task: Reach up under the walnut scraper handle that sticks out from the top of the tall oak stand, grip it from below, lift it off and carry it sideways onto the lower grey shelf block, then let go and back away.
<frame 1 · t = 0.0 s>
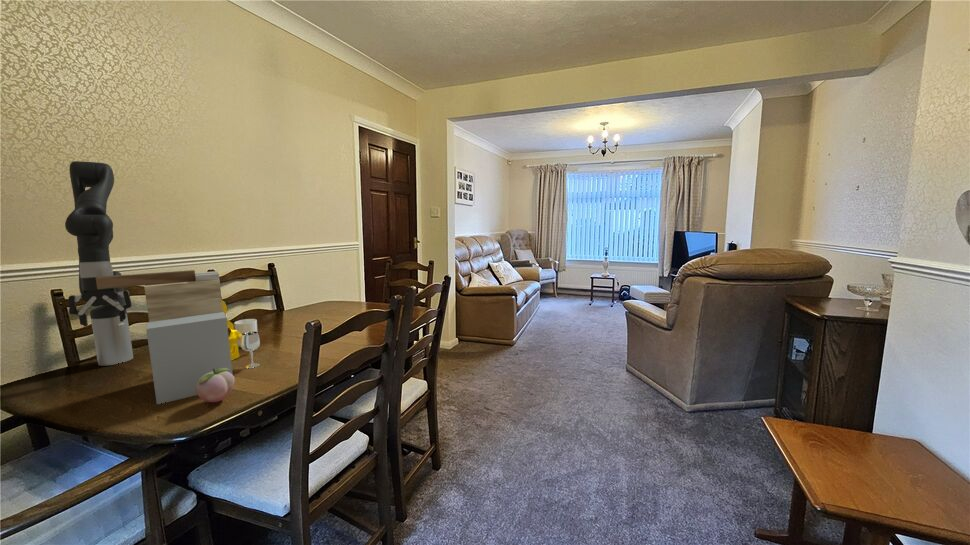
hand: (104, 323, 123), 17 cm above the table, tool pointing down, fingers open, 8 cm apart
wineglass: (252, 366, 130), on the table
white cup: (248, 345, 153), on the table
decorative fruit: (216, 402, 104), on the table
oak stand: (195, 376, 122), on the table
scraper: (98, 288, 105), point 32 cm above the table, touching oak stand
grey shelf: (196, 389, 112), on the table
figure statuette: (228, 359, 137), on the table
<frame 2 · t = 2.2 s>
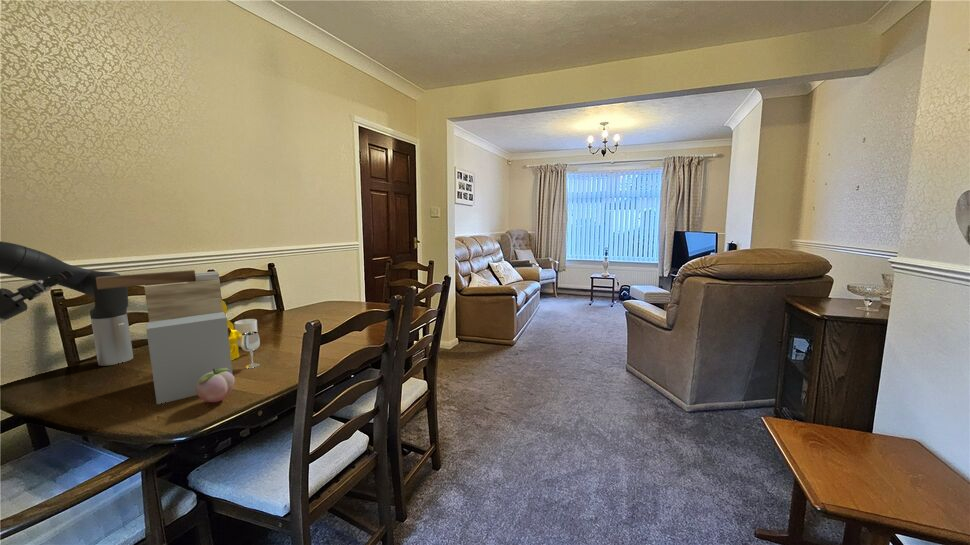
hand: (67, 274, 105), 36 cm above the table, tool pointing upward, fingers open, 8 cm apart
nothing on the table moved.
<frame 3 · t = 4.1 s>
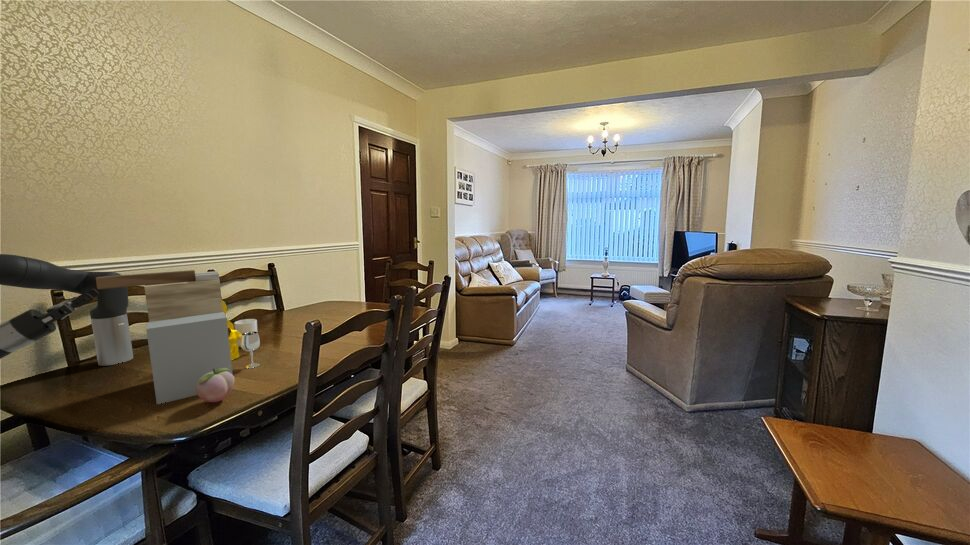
hand: (93, 293, 105), 31 cm above the table, tool pointing upward, fingers open, 8 cm apart
nothing on the table moved.
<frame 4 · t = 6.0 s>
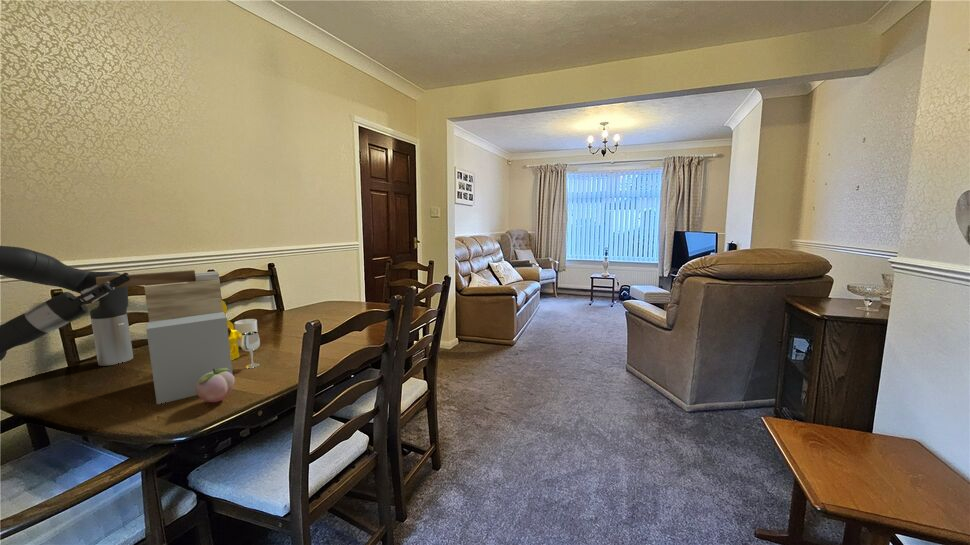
hand: (128, 275, 109), 35 cm above the table, tool pointing upward, fingers closed on scraper, 3 cm apart
scraper: (98, 288, 105), point 32 cm above the table, touching gripper
everything else where it was.
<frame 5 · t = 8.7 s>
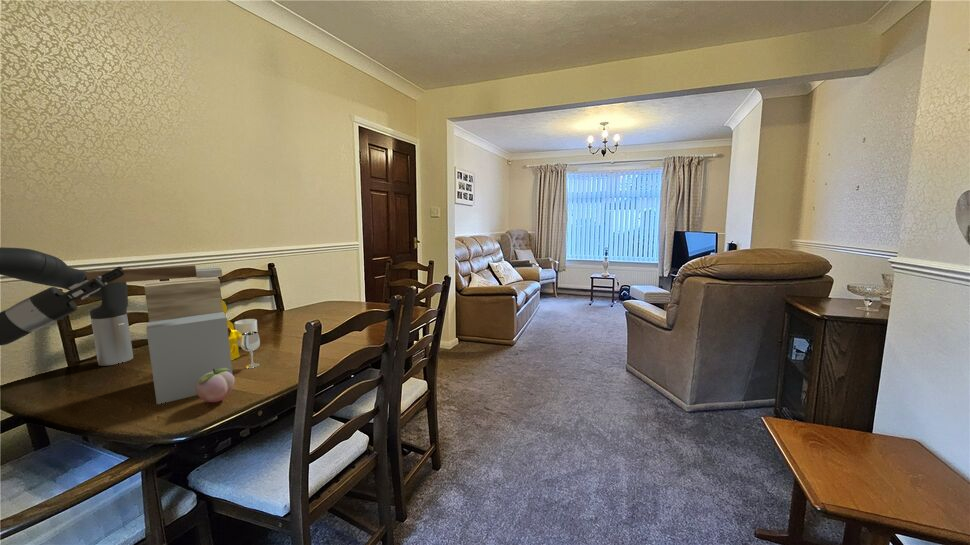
hand: (122, 270, 99), 38 cm above the table, tool pointing upward, fingers closed on scraper, 3 cm apart
scraper: (88, 283, 95), point 35 cm above the table, touching gripper
everything else where it was.
when the fingers open (26 cm above the table, at t = 11.0 s): scraper drops 1 cm, resting on grey shelf.
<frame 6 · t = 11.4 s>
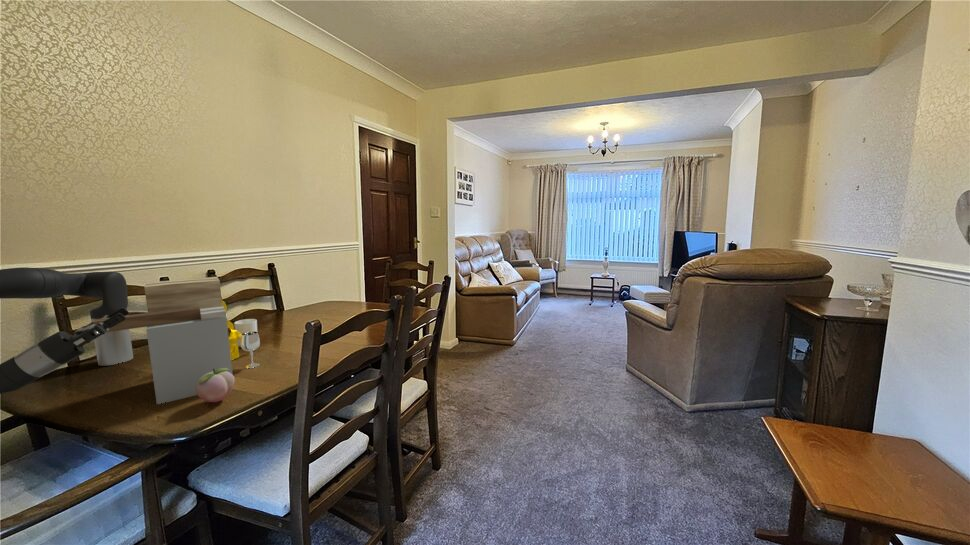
hand: (124, 312, 100), 26 cm above the table, tool pointing upward, fingers open, 7 cm apart
scraper: (96, 332, 97), point 22 cm above the table, touching grey shelf
everything else where it was.
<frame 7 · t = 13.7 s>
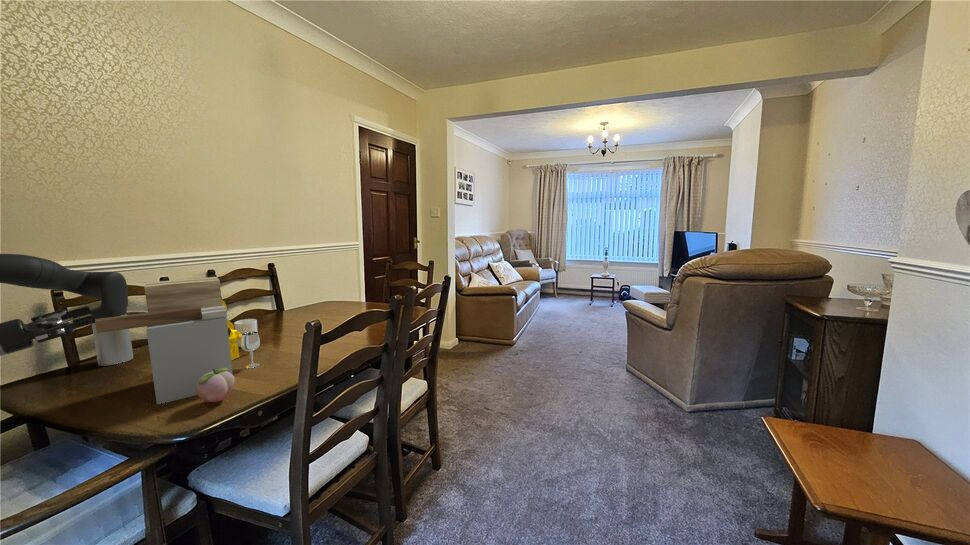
hand: (92, 313, 99), 26 cm above the table, tool horizontal, fingers open, 8 cm apart
scraper: (97, 331, 97), point 22 cm above the table, touching gripper
everything else where it was.
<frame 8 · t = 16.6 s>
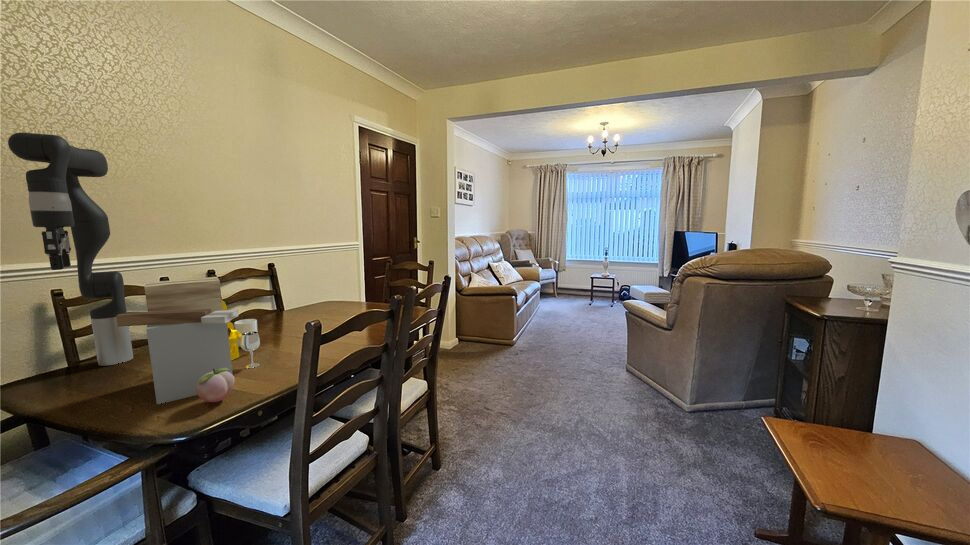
hand: (61, 268, 103), 38 cm above the table, tool pointing down, fingers open, 8 cm apart
scraper: (122, 324, 104), point 22 cm above the table, touching grey shelf
everything else where it was.
at the end: scraper inside the target area (6.9 cm from its centre), point 22.0 cm above the table; the gripper is holding nothing; scraper tilted 0° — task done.
